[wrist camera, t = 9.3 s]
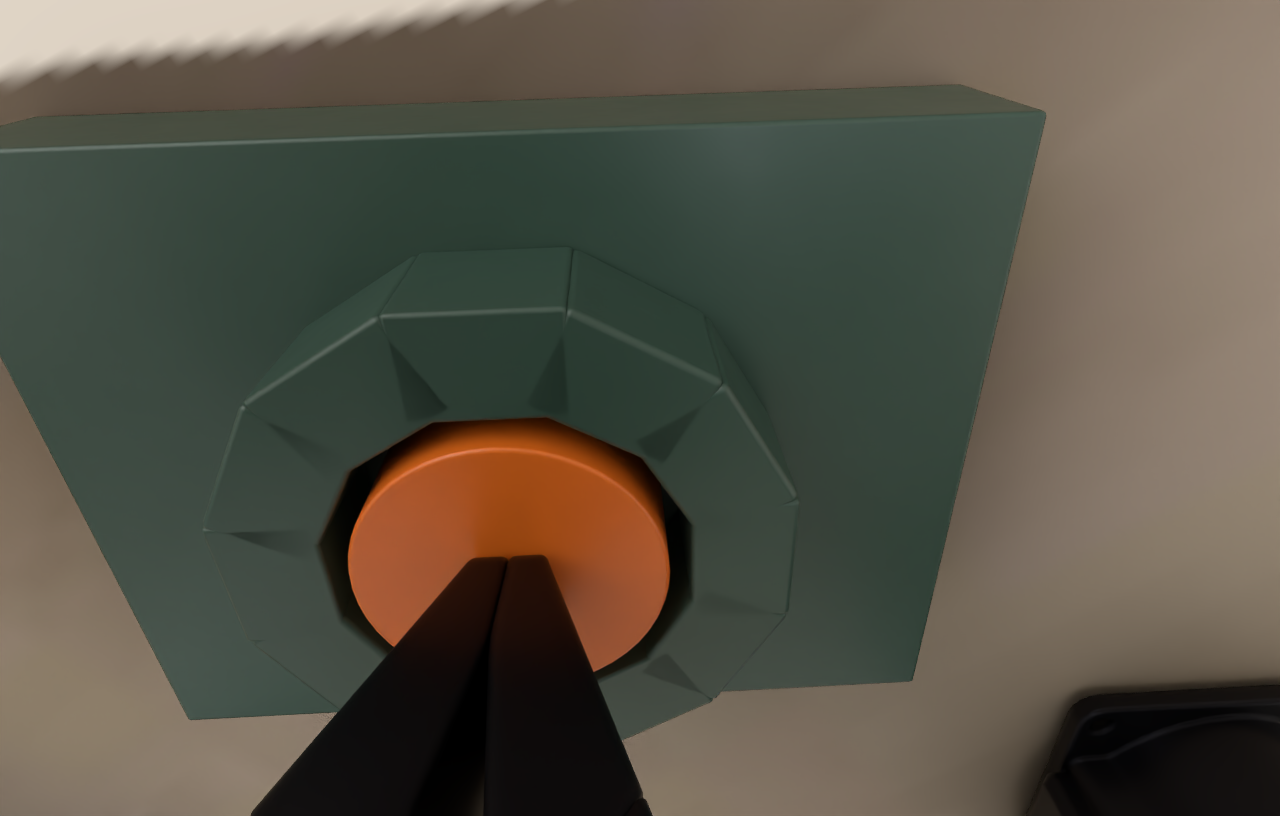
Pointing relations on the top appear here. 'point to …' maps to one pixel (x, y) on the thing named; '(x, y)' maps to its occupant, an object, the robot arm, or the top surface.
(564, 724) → the robot arm
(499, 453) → the button
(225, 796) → the top surface
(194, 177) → the control block
